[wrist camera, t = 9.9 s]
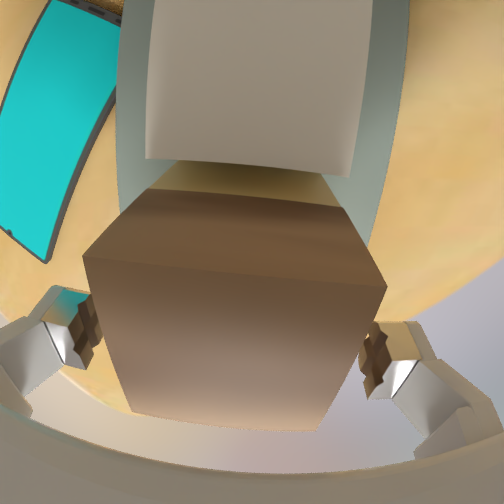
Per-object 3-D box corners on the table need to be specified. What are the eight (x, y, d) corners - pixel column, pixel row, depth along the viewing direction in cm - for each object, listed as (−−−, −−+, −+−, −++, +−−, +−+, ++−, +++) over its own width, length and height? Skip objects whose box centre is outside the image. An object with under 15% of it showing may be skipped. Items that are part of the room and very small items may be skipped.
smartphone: (155, 33, 10) (46, 266, 16) (161, 36, 11) (53, 259, 17) (53, -11, 8) (-23, 208, 14) (62, -8, 9) (-15, 203, 15)
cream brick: (190, 2, 9) (159, -29, 5) (340, 16, 9) (373, -11, 5) (179, 137, 12) (145, 158, 8) (324, 150, 12) (348, 177, 8)
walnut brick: (146, 188, 9) (81, 256, 5) (343, 207, 9) (387, 286, 5) (159, 330, 12) (132, 411, 8) (305, 345, 12) (315, 431, 8)
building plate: (159, -108, 5) (127, -151, 1) (398, -86, 5) (438, -123, 1) (136, 281, 17) (104, 343, 13) (341, 302, 17) (360, 369, 13)
